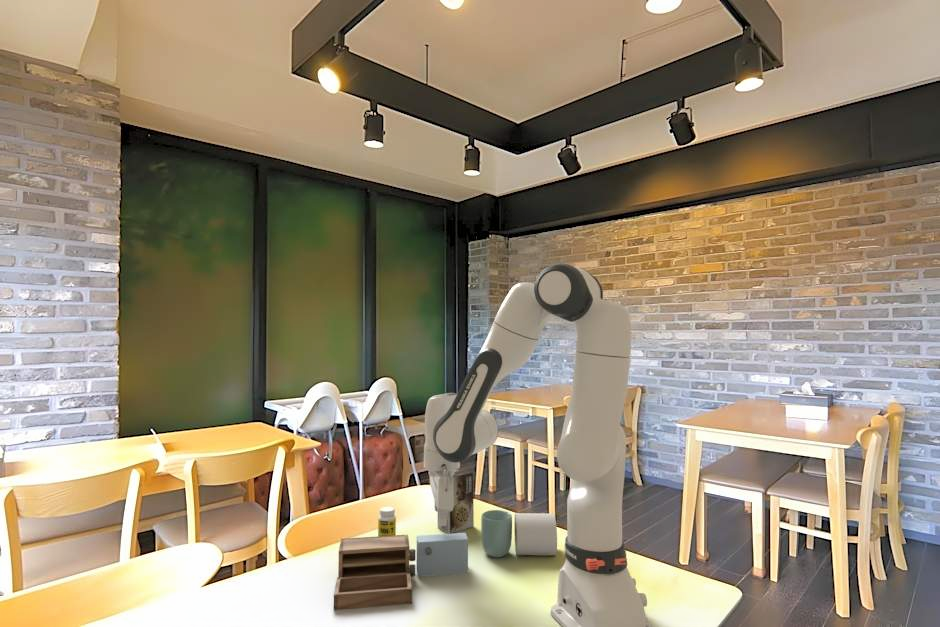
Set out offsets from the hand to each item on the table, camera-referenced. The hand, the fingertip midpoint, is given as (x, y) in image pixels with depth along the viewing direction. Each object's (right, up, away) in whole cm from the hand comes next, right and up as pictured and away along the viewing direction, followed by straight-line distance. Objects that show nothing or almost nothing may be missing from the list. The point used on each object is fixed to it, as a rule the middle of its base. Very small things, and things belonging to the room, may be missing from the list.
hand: (440, 517), depth 123 cm
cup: (+14, -13, +9) cm, 21 cm away
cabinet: (-14, -12, -8) cm, 20 cm away
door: (0, -13, -1) cm, 13 cm away
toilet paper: (+24, -13, +9) cm, 29 cm away
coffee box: (+3, -14, +27) cm, 31 cm away
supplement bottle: (-16, -14, +18) cm, 27 cm away
